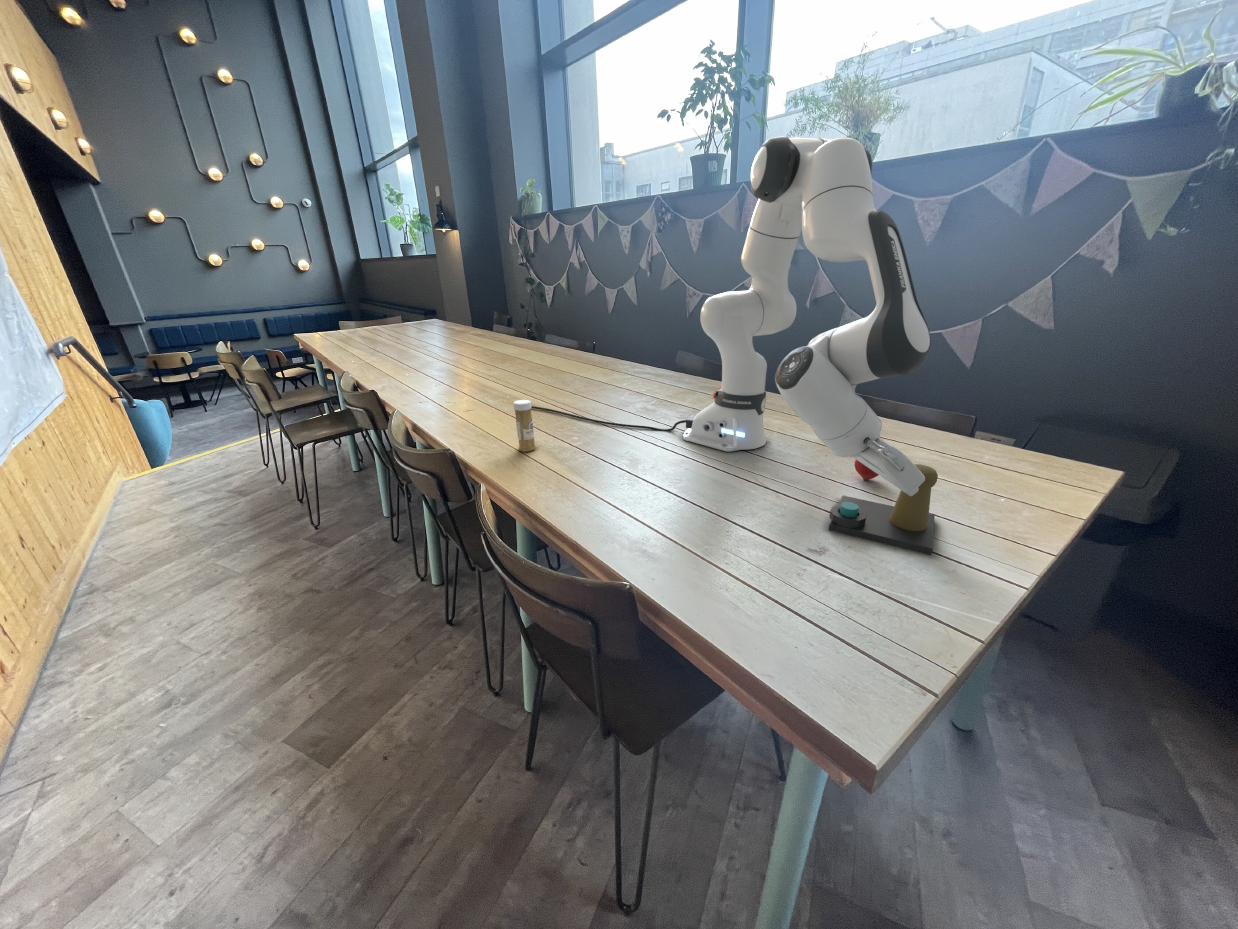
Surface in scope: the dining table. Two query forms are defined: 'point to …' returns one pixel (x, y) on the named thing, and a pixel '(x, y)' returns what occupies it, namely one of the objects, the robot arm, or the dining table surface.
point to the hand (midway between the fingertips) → (894, 479)
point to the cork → (915, 503)
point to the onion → (864, 471)
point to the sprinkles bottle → (524, 425)
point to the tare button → (849, 509)
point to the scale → (880, 526)
